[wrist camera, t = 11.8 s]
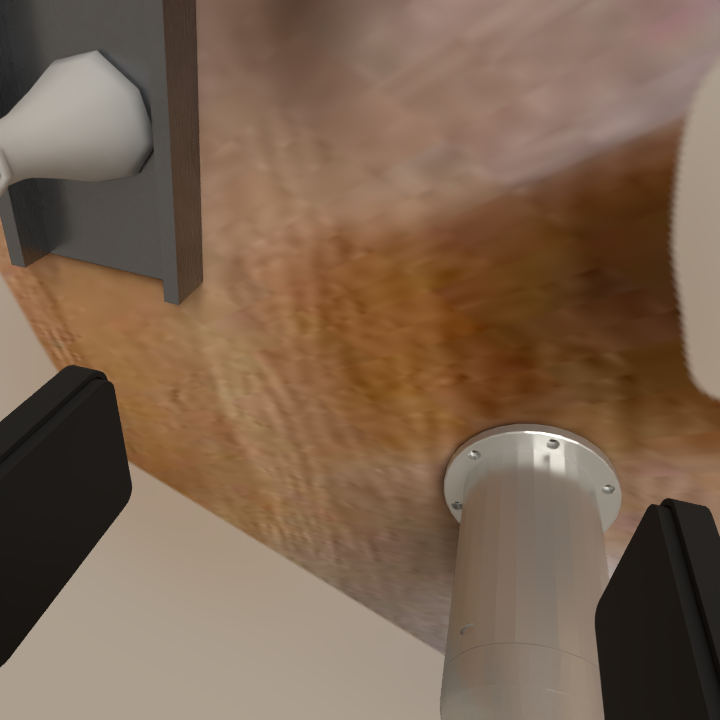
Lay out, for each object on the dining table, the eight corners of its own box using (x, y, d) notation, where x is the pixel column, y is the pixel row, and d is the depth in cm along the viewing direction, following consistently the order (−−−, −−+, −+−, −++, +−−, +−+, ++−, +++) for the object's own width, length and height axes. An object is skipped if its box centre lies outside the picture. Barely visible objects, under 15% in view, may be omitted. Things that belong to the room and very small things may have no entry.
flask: (180, 147, 35) (76, 203, 27) (100, 199, 38) (-15, 263, 30) (99, 24, 32) (-45, 45, 24) (20, 91, 35) (-130, 129, 27)
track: (202, 281, 41) (178, 305, 38) (46, 244, 42) (11, 264, 39) (193, -73, 29) (158, -77, 26) (-23, -109, 31) (-78, -117, 28)
